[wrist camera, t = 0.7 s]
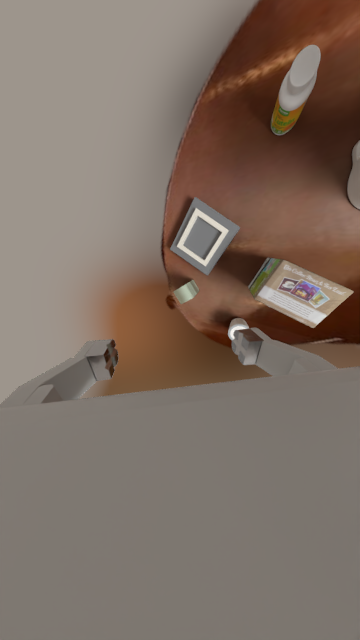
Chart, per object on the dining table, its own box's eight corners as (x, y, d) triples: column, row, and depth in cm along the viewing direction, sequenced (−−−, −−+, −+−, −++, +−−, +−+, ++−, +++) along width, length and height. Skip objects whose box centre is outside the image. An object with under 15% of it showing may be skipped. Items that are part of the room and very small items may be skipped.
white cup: (224, 326, 54) (223, 335, 48) (236, 312, 50) (236, 320, 44) (240, 336, 53) (241, 346, 47) (252, 323, 50) (255, 332, 44)
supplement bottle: (266, 137, 33) (278, 95, 24) (276, 100, 30) (293, 40, 22) (292, 135, 31) (315, 90, 23) (304, 97, 29) (335, 31, 21)
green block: (193, 279, 51) (185, 284, 42) (199, 290, 52) (193, 297, 43) (182, 285, 53) (173, 291, 44) (189, 296, 54) (181, 304, 45)
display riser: (197, 200, 41) (193, 195, 38) (239, 229, 41) (240, 226, 37) (173, 249, 49) (168, 249, 45) (208, 274, 48) (206, 275, 45)
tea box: (246, 287, 46) (252, 299, 33) (267, 256, 41) (283, 256, 29) (290, 308, 45) (314, 329, 32) (317, 279, 40) (358, 290, 27)
